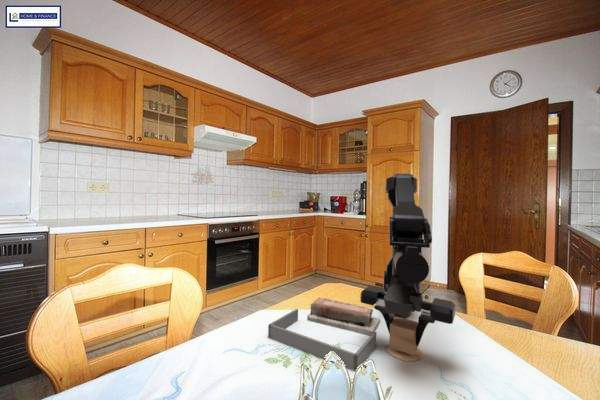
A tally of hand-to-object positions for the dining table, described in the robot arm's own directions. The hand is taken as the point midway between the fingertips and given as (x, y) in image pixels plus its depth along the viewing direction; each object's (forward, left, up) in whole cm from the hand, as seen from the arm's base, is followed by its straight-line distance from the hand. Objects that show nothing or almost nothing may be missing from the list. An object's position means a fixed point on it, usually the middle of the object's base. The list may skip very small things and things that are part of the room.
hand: (404, 341), depth 61 cm
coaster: (0, 0, -2) cm, 2 cm away
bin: (+7, -17, -2) cm, 19 cm away
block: (0, 0, -1) cm, 1 cm away
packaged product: (-6, -17, -3) cm, 19 cm away
